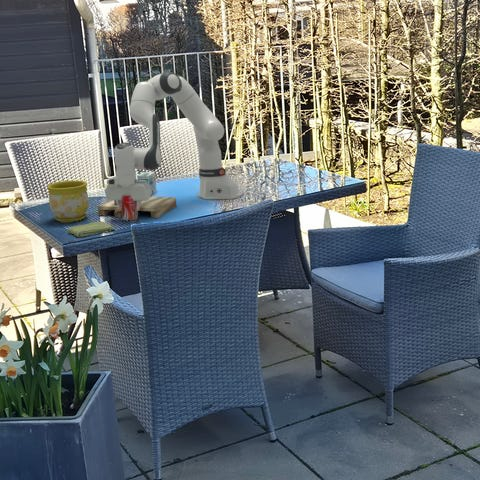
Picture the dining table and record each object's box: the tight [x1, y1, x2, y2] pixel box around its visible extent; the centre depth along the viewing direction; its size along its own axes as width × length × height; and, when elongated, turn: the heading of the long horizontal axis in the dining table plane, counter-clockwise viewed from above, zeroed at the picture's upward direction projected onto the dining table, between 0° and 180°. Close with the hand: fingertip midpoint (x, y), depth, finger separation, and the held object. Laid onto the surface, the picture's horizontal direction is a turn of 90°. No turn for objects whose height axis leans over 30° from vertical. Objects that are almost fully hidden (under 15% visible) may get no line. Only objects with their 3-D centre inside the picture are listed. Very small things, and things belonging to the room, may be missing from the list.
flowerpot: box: [46, 179, 90, 223], centre depth 357 cm, size 18×18×16 cm
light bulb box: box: [136, 171, 157, 197], centre depth 403 cm, size 11×7×11 cm, turn 168°
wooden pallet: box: [97, 196, 177, 219], centre depth 368 cm, size 30×26×4 cm
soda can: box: [121, 195, 139, 221], centre depth 351 cm, size 7×7×12 cm
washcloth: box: [67, 221, 116, 238], centre depth 335 cm, size 13×18×3 cm
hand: (129, 209), depth 351 cm, fingers closed on soda can, 7 cm apart
